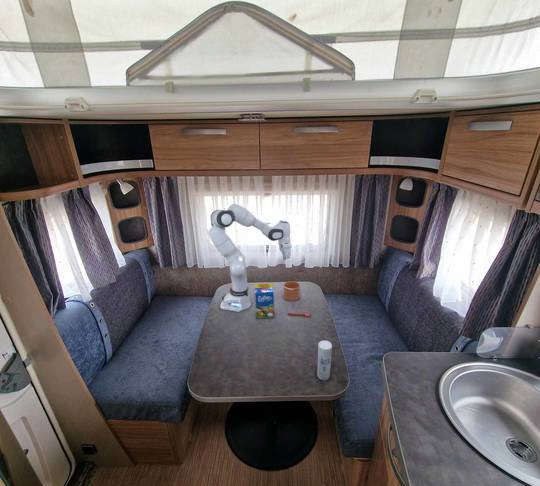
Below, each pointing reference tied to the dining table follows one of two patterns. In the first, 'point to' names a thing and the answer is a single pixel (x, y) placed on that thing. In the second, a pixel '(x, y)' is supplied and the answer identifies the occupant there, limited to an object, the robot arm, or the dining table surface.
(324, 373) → the spray can
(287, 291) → the copper pot
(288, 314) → the red spoon
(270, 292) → the blue food package
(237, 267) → the robot arm
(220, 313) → the dining table surface
